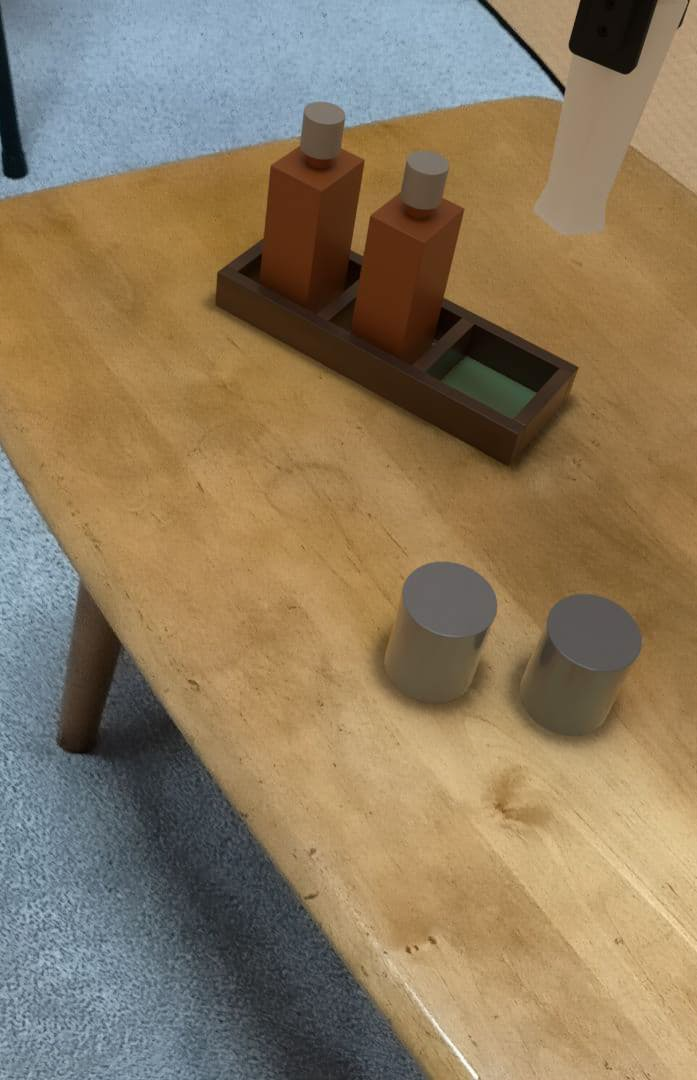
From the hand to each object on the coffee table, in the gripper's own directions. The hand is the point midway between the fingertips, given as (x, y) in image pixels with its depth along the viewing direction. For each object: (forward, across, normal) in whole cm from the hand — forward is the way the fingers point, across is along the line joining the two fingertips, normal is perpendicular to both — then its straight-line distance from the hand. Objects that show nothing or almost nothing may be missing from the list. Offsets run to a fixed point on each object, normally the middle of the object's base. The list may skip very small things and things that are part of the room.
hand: (625, 36), depth 57 cm
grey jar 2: (+30, -13, -11) cm, 35 cm away
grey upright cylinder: (+30, -15, -4) cm, 34 cm away
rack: (+30, +6, +11) cm, 33 cm away
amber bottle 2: (+29, +6, +11) cm, 32 cm away
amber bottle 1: (+29, +6, +19) cm, 35 cm away
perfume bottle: (+10, 0, 0) cm, 10 cm away
